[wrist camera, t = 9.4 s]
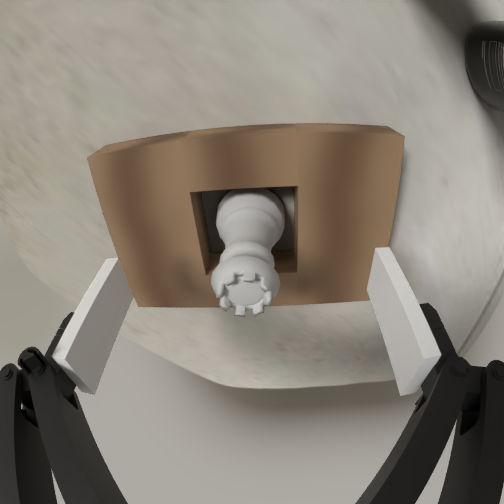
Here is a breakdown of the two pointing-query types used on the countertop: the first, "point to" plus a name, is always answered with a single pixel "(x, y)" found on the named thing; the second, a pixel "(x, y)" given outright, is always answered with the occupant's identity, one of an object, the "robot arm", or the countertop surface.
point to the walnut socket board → (251, 176)
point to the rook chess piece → (248, 249)
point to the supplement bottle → (487, 61)
